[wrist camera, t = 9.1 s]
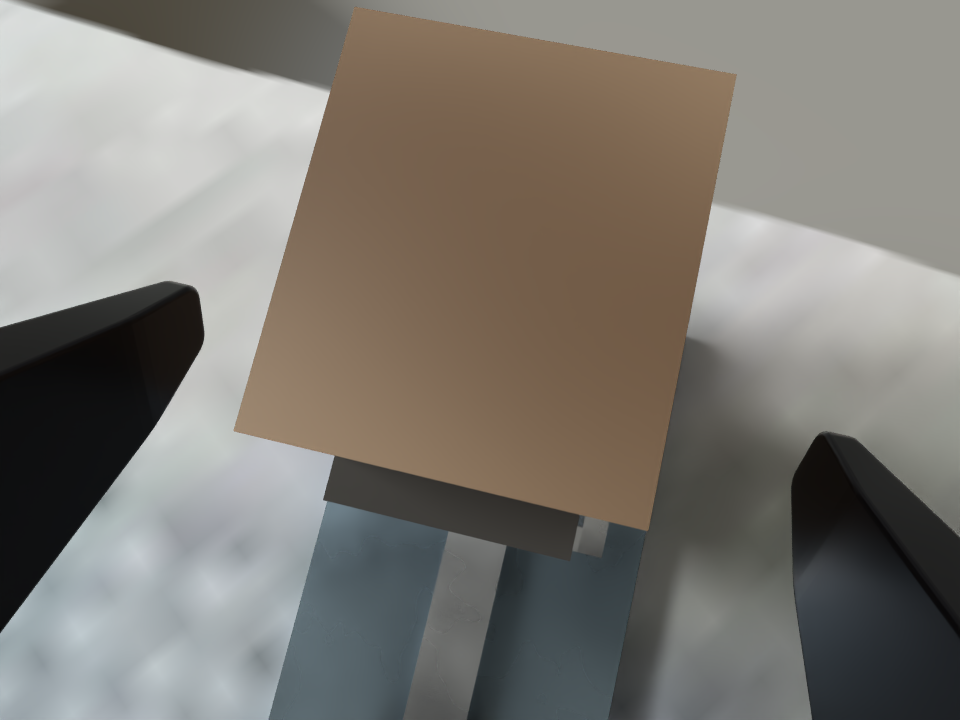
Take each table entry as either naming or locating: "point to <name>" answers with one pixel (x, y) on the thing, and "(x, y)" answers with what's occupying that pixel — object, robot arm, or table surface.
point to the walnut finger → (491, 279)
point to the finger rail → (456, 624)
